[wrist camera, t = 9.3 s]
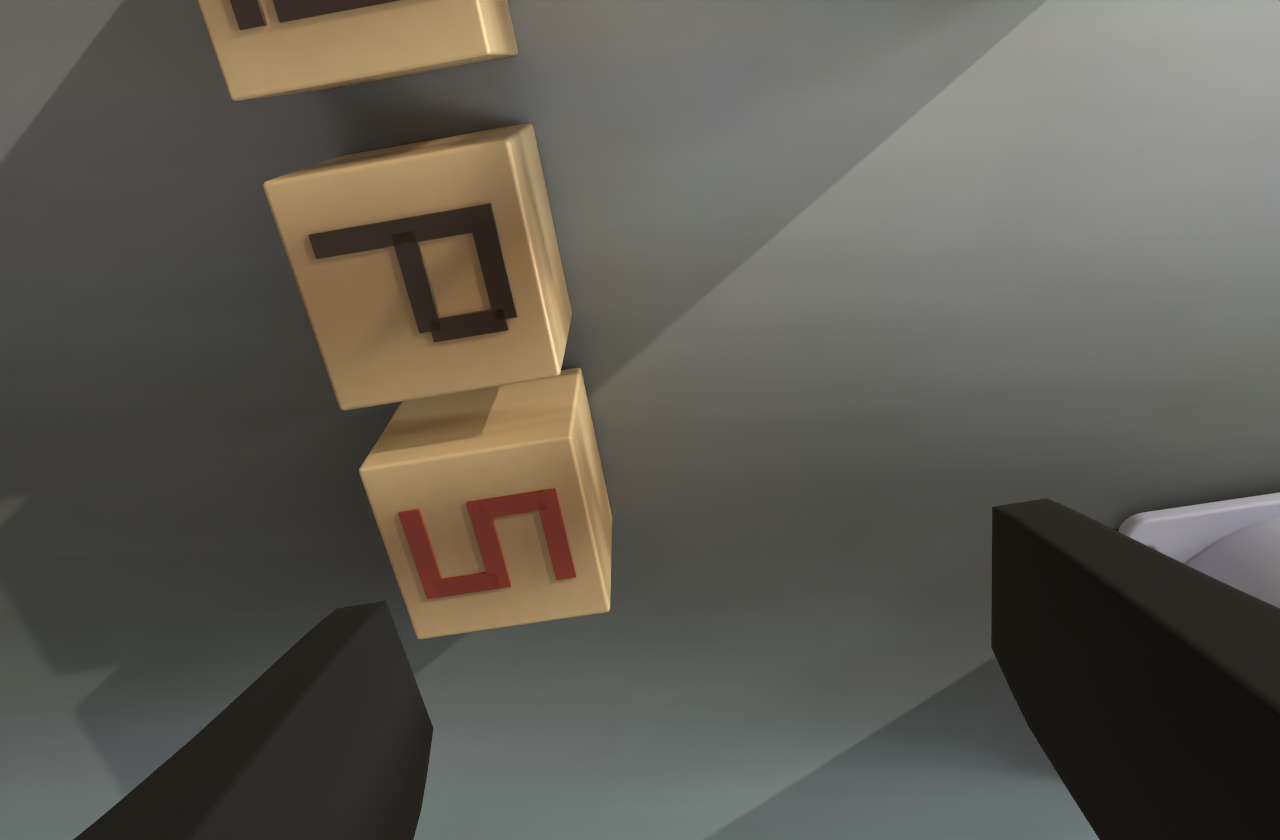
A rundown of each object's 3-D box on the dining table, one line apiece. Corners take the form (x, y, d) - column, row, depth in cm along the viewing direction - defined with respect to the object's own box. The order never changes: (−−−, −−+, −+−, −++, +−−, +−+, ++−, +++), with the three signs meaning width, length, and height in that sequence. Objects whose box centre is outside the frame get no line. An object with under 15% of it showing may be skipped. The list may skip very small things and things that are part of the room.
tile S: (612, 519, 19) (610, 614, 16) (451, 543, 20) (416, 643, 16) (580, 366, 18) (571, 437, 14) (405, 394, 18) (355, 471, 15)
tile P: (573, 316, 17) (561, 378, 14) (392, 346, 18) (338, 414, 14) (533, 122, 16) (508, 139, 12) (334, 156, 16) (258, 182, 13)
